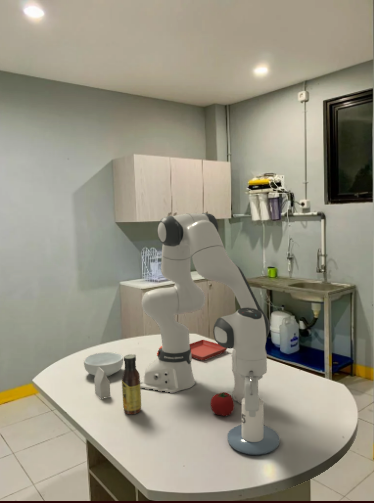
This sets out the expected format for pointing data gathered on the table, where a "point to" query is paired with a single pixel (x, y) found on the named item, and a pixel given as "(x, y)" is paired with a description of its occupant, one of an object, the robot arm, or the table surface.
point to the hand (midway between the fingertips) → (252, 411)
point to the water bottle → (237, 381)
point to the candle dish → (254, 448)
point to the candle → (252, 423)
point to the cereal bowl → (103, 362)
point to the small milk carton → (102, 384)
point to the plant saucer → (205, 349)
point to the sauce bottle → (131, 386)
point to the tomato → (222, 404)
